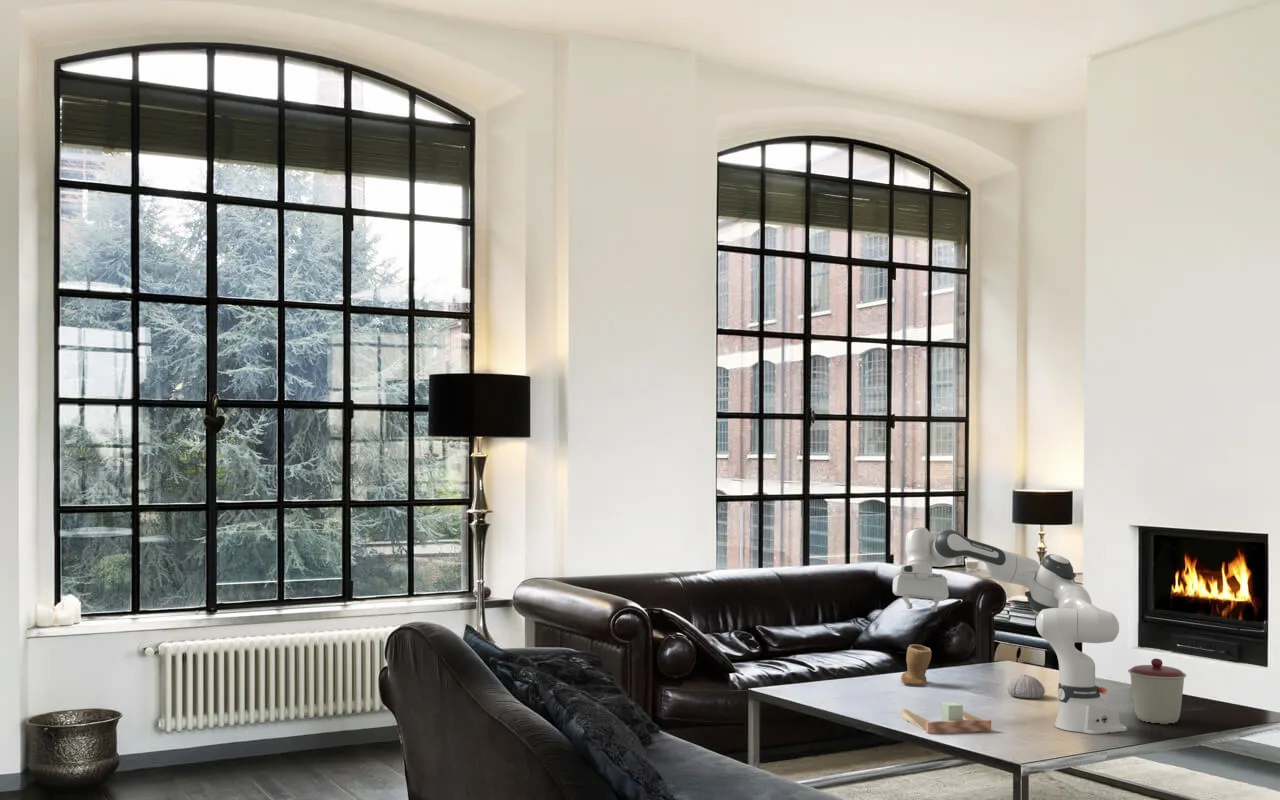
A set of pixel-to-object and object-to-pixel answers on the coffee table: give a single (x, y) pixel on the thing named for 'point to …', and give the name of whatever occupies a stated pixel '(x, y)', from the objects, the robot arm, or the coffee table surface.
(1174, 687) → the canister
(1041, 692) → the sea urchin shell
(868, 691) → the coffee table surface
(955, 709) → the pale green block
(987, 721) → the bay
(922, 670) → the tan boot
